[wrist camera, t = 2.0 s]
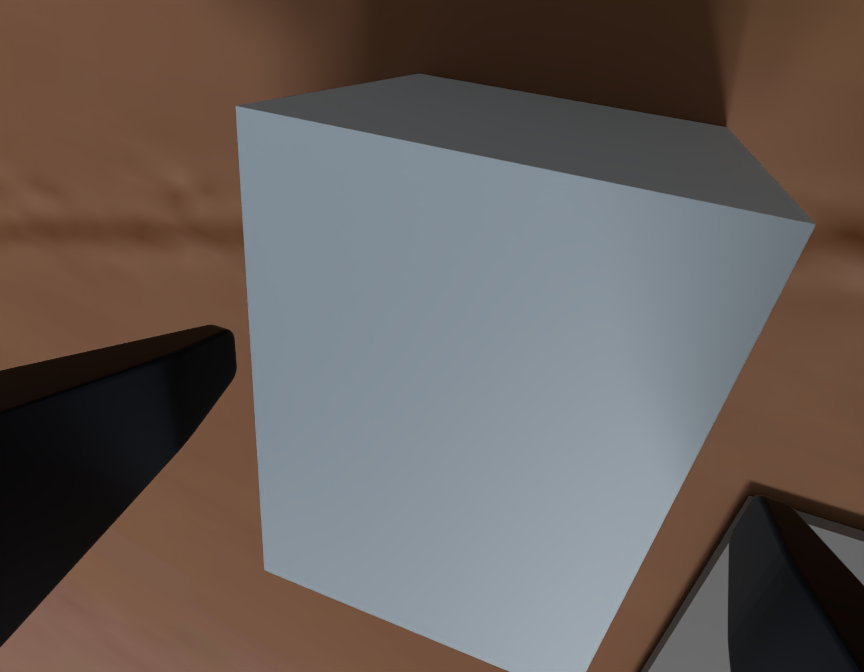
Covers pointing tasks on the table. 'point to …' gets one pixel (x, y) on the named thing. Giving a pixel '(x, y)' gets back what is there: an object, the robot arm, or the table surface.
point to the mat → (708, 603)
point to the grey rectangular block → (492, 346)
